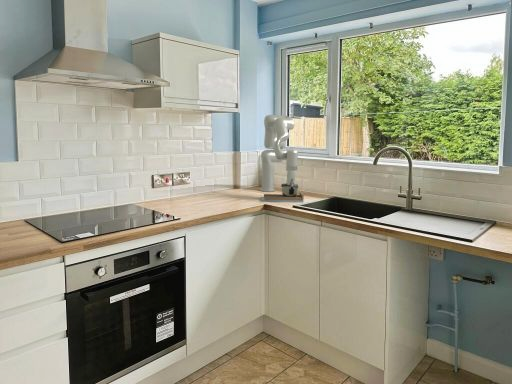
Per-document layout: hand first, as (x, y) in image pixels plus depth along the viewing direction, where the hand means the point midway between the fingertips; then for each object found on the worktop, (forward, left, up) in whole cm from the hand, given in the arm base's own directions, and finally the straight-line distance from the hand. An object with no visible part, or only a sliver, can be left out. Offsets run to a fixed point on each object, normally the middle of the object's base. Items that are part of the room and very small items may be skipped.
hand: (290, 193), depth 282 cm
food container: (-1, 0, -4) cm, 4 cm away
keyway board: (0, -6, -5) cm, 8 cm away
